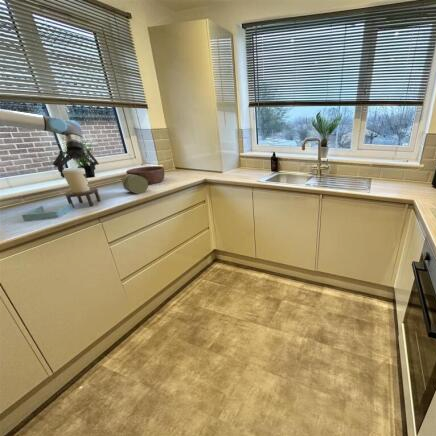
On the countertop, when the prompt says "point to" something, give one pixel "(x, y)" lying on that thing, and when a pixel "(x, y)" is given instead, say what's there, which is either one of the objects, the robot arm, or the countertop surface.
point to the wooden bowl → (149, 173)
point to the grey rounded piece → (134, 183)
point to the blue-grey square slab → (46, 213)
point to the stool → (86, 193)
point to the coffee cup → (76, 179)
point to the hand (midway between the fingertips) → (77, 175)
